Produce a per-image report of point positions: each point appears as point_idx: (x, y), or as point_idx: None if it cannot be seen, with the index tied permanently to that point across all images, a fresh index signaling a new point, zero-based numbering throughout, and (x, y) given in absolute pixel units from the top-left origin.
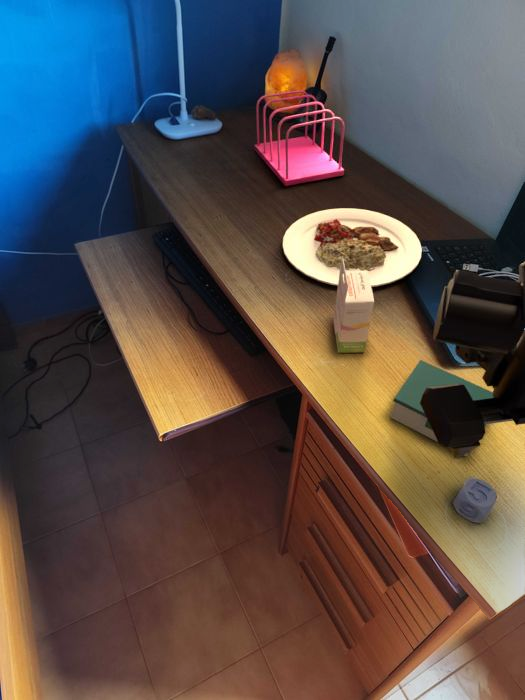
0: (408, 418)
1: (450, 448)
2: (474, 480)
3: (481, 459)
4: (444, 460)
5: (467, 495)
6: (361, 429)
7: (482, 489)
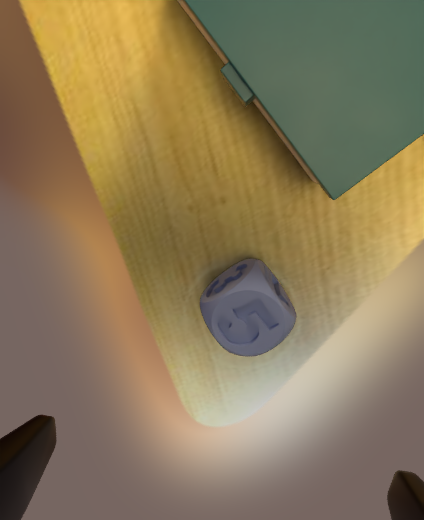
0: (198, 23)
1: (24, 424)
2: (254, 294)
3: (346, 196)
4: (253, 175)
5: (215, 321)
6: (72, 16)
7: (258, 319)
